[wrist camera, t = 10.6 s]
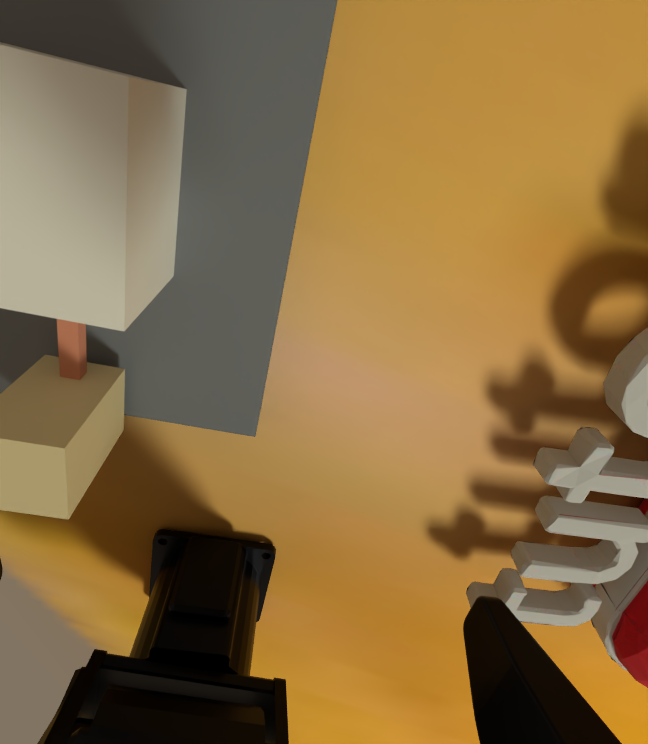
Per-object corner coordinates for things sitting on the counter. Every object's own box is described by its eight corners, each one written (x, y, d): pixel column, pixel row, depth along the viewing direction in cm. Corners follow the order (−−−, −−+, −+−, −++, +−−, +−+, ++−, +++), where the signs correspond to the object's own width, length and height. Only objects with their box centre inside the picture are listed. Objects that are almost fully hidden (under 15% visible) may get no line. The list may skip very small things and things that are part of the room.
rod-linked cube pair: (163, 428, 20) (115, 526, 15) (18, 404, 20) (-79, 498, 15) (186, 89, 14) (120, 75, 9) (-22, 36, 14) (-210, -8, 9)
